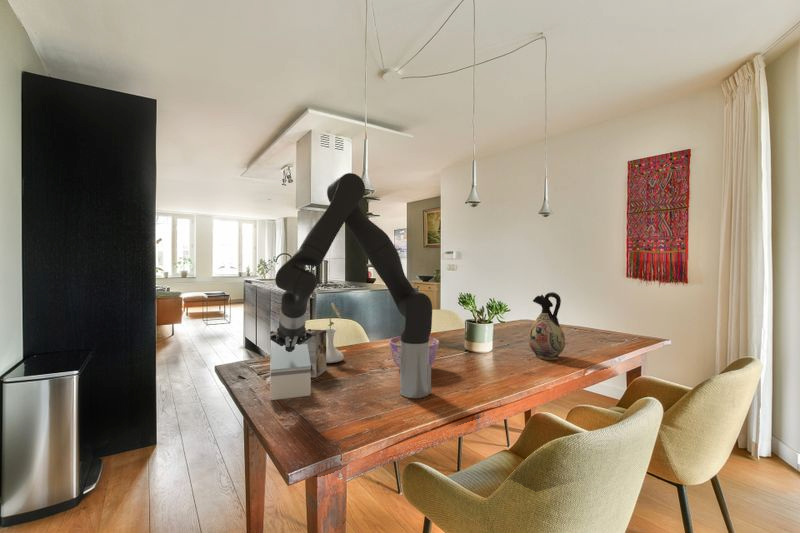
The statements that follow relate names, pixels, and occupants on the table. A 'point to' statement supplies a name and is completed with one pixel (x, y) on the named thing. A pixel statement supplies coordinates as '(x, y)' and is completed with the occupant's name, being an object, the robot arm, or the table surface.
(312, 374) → the coffee box
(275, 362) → the lid
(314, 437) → the table surface
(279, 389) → the crate
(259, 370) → the table surface
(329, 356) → the flower in vase
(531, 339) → the ceramic jug
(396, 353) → the purple patterned bowl
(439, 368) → the table surface
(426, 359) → the robot arm
